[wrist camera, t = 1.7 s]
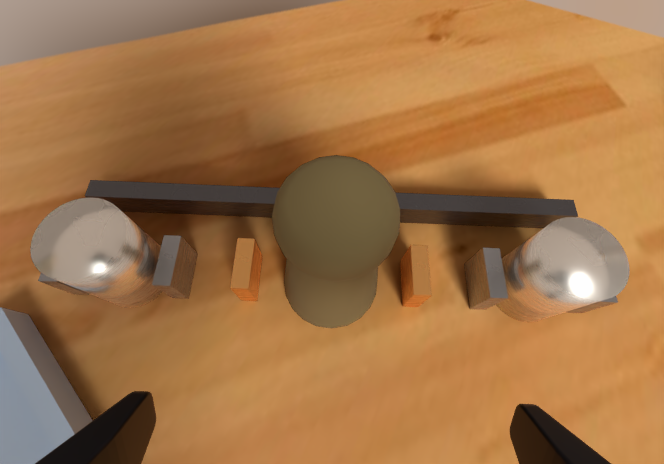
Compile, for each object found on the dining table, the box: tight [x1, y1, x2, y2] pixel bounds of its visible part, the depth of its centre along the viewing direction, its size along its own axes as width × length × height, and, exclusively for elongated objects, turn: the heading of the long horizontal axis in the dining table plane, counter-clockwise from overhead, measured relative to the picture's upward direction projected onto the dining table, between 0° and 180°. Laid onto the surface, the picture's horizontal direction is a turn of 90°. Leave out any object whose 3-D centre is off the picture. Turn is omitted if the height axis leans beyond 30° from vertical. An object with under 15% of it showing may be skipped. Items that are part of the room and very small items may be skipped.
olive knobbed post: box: [272, 155, 400, 328], centre depth 18 cm, size 6×6×11 cm
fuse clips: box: [31, 180, 629, 322], centre depth 21 cm, size 8×32×6 cm, turn 88°
